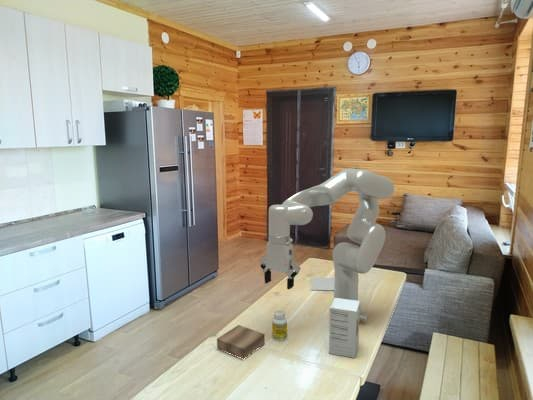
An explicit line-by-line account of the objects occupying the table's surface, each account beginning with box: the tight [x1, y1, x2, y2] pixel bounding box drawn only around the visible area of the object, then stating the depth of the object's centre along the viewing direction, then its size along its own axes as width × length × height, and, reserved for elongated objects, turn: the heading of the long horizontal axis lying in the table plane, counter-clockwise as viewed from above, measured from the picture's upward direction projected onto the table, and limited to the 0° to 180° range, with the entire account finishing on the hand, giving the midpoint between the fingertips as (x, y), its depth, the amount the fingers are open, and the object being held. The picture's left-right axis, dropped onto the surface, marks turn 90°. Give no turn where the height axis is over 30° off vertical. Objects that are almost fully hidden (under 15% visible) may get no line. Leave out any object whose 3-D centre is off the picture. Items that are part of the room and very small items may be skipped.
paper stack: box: [310, 276, 335, 291], centre depth 189 cm, size 23×25×1 cm
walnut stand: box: [216, 324, 266, 359], centre depth 137 cm, size 12×12×4 cm
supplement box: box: [328, 297, 361, 359], centre depth 133 cm, size 10×9×17 cm
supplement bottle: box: [271, 310, 288, 342], centre depth 142 cm, size 6×6×10 cm
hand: (278, 285), depth 139 cm, fingers open, 9 cm apart
